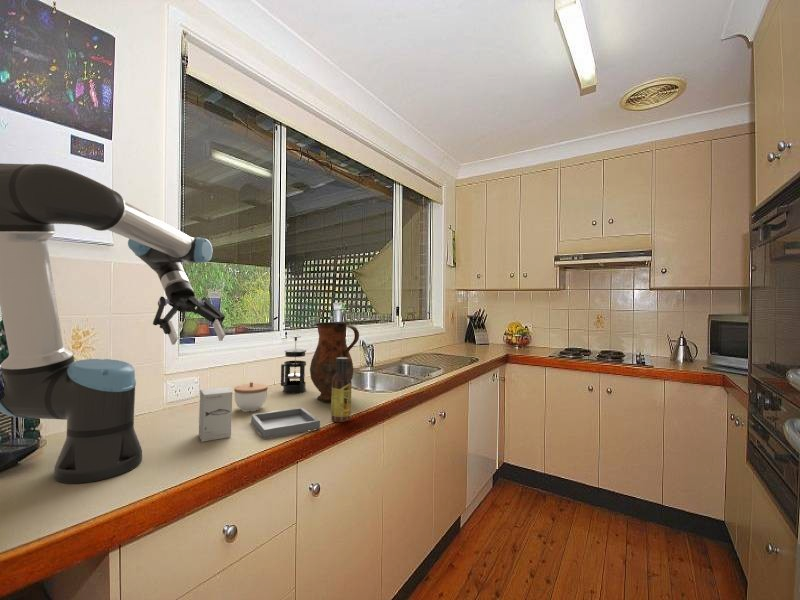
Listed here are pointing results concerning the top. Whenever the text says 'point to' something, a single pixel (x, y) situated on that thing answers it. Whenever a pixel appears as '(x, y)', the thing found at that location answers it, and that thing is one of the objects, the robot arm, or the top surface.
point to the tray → (284, 422)
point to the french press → (294, 385)
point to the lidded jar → (250, 396)
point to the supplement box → (215, 413)
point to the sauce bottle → (341, 392)
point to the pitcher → (330, 356)
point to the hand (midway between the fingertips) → (199, 339)
